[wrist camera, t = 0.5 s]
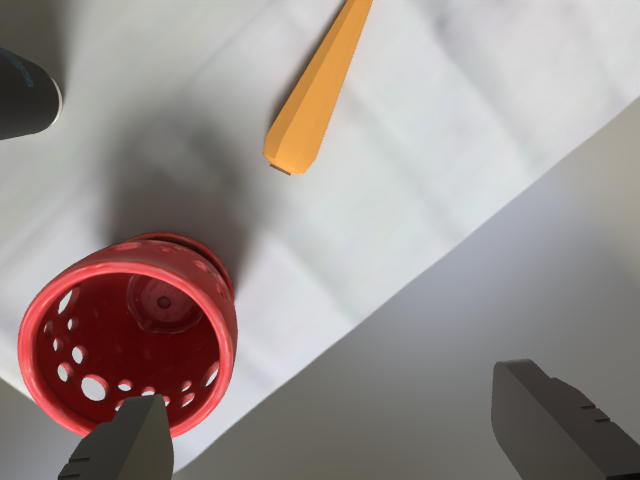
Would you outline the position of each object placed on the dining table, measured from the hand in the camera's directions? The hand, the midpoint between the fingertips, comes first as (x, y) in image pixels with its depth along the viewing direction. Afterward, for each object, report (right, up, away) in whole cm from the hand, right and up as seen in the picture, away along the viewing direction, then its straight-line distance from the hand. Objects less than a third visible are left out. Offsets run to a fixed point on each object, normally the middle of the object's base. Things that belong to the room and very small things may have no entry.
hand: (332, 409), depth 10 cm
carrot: (+1, +19, +24) cm, 31 cm away
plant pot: (-13, 0, +28) cm, 31 cm away
